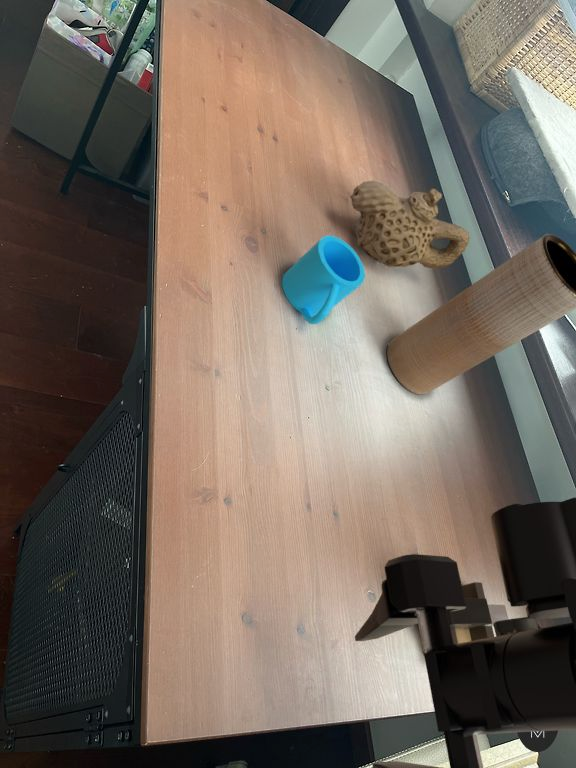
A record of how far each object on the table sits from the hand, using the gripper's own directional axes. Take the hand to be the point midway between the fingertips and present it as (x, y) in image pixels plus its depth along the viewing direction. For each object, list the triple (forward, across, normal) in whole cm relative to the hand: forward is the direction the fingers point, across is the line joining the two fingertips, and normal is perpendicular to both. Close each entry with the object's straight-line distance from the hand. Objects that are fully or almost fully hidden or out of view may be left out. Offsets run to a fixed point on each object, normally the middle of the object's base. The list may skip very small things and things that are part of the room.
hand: (367, 699), depth 50 cm
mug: (+12, +50, -10) cm, 53 cm away
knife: (+8, +8, -26) cm, 28 cm away
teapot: (+12, +67, -27) cm, 73 cm away
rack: (+12, +8, -26) cm, 30 cm away
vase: (+12, +45, -30) cm, 55 cm away
